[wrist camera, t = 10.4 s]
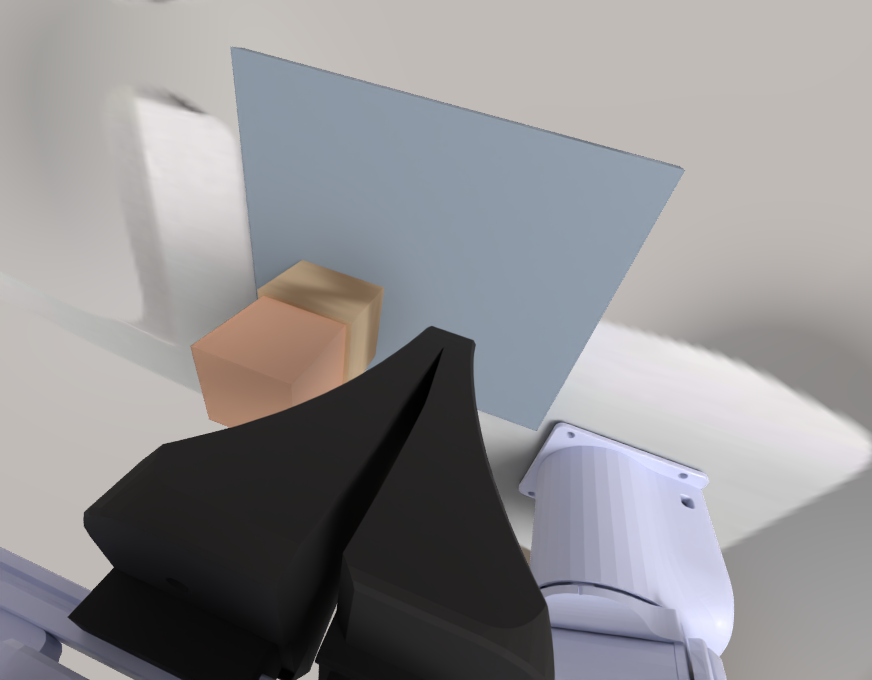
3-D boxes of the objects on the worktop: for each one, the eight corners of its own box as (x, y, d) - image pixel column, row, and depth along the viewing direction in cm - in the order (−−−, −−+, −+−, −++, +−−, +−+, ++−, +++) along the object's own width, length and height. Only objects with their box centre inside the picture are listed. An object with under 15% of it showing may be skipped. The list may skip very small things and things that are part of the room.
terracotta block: (346, 324, 18) (291, 384, 15) (342, 390, 21) (294, 453, 18) (263, 295, 19) (190, 346, 15) (269, 362, 22) (209, 419, 18)
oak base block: (384, 287, 21) (351, 323, 18) (375, 355, 25) (346, 396, 21) (302, 259, 22) (257, 289, 19) (303, 330, 25) (265, 365, 22)
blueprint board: (680, 166, 15) (685, 170, 15) (537, 422, 25) (536, 431, 24) (242, 47, 17) (230, 46, 17) (267, 324, 27) (260, 330, 26)
